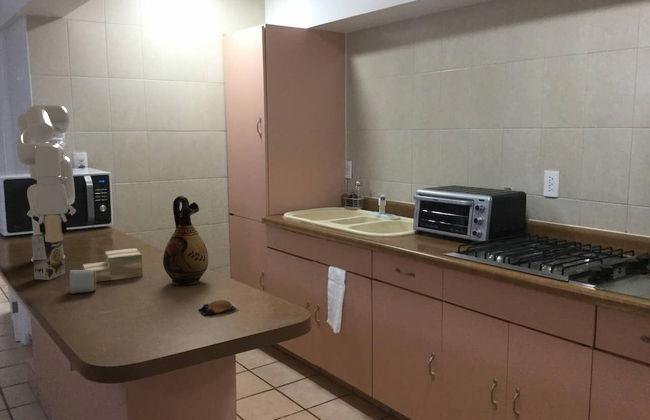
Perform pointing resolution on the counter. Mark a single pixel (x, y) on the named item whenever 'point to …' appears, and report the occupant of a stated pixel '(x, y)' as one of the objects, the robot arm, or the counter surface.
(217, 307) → the turtle figurine
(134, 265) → the step stand
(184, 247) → the painted pottery vase
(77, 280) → the ceramic mug
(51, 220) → the candle
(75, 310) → the counter surface
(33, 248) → the coffee box
